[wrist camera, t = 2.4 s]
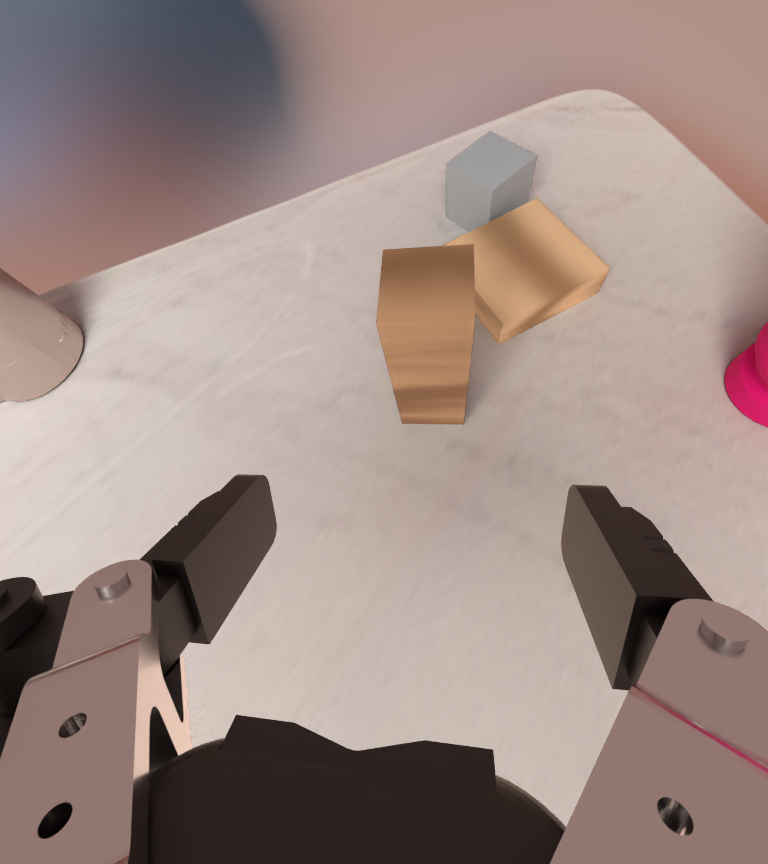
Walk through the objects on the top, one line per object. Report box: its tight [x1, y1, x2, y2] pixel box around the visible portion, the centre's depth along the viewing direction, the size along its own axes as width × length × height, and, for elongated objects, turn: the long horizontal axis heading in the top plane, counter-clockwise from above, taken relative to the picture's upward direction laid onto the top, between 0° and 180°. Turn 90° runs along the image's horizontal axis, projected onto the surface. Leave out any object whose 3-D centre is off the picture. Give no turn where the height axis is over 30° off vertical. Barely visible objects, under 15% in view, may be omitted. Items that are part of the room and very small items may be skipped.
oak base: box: [442, 198, 610, 344], centre depth 32 cm, size 9×9×3 cm
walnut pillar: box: [376, 244, 475, 424], centre depth 24 cm, size 4×4×12 cm
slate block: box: [446, 131, 538, 232], centre depth 34 cm, size 5×5×5 cm
